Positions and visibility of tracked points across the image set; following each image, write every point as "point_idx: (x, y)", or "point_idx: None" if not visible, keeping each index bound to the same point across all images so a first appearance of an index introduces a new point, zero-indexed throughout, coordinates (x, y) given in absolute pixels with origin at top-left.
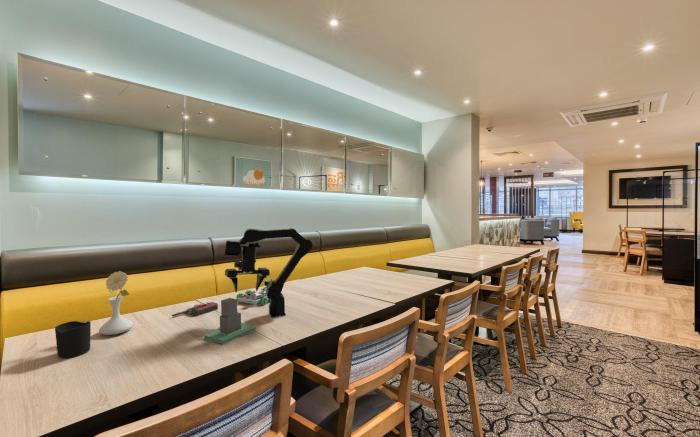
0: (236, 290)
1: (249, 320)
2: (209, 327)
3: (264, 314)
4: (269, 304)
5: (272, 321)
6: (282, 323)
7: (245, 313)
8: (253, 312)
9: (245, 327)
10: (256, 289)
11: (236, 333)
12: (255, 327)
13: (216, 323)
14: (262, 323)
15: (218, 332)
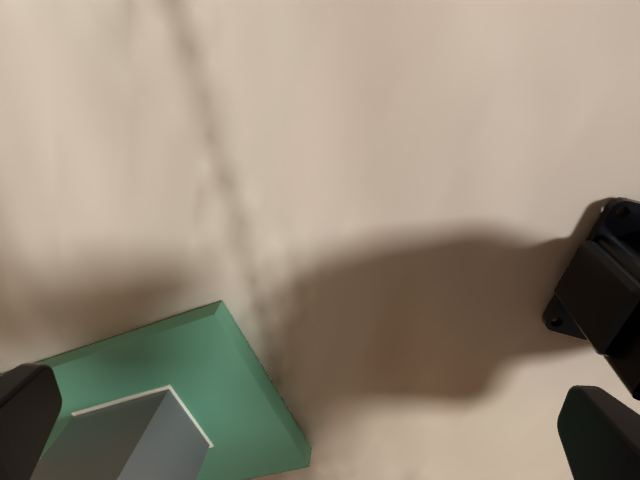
0: (25, 460)
1: (340, 266)
2: (7, 218)
3: (541, 200)
4: (638, 306)
5: (487, 393)
6: (520, 461)
7: (386, 23)
8: (483, 48)
9: (243, 435)
10: (573, 453)
11: None
12: (304, 466)
13: (58, 159)
14: (401, 383)
15: (65, 406)
